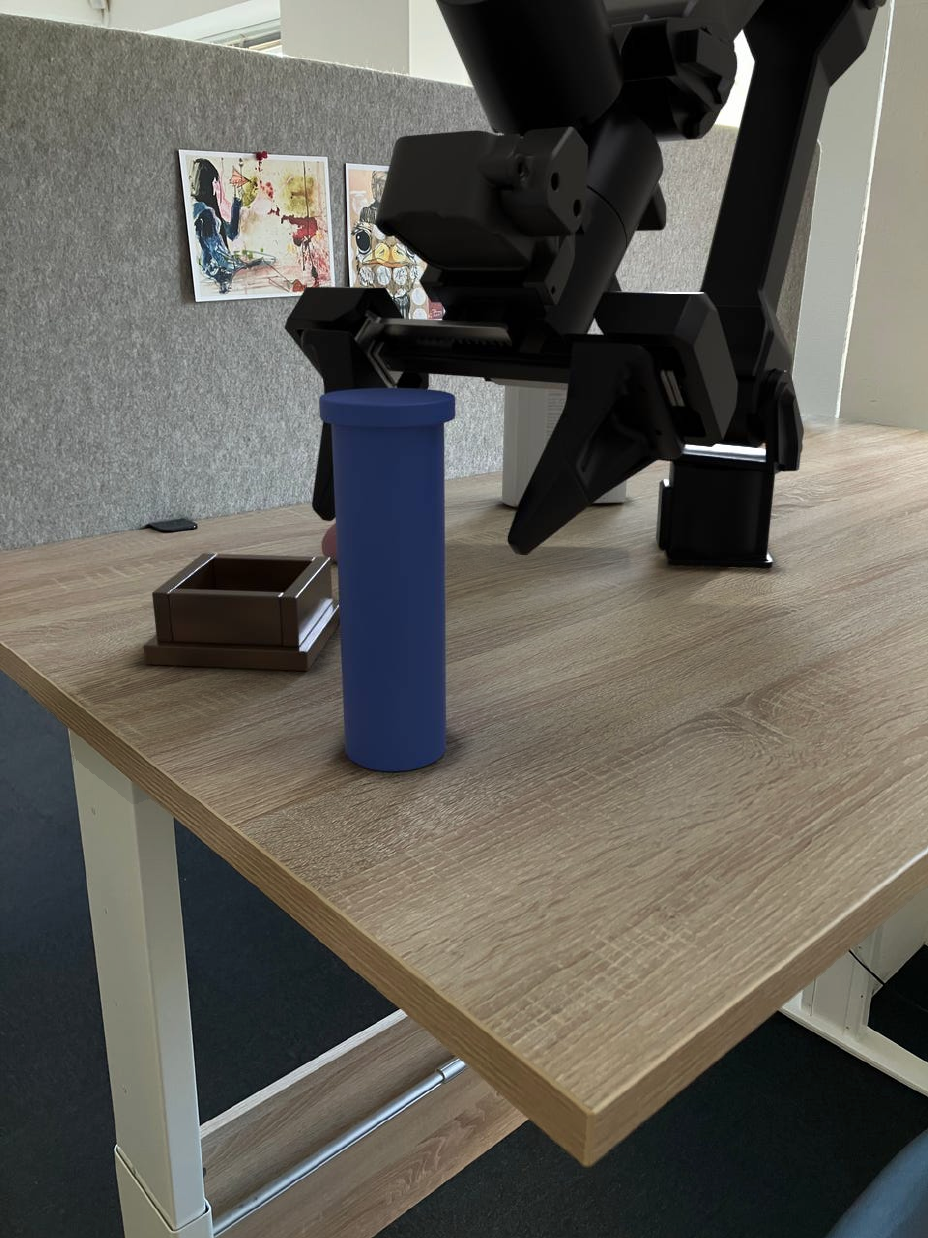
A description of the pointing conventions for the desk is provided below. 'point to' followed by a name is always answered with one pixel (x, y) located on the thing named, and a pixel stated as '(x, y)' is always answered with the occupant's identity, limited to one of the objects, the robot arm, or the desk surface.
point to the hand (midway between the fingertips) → (411, 531)
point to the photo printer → (533, 439)
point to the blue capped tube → (391, 571)
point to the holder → (244, 613)
